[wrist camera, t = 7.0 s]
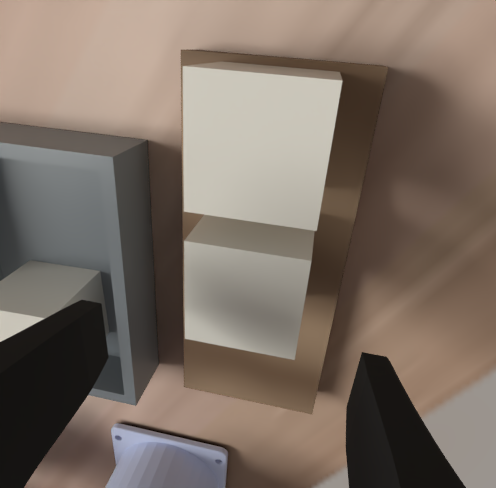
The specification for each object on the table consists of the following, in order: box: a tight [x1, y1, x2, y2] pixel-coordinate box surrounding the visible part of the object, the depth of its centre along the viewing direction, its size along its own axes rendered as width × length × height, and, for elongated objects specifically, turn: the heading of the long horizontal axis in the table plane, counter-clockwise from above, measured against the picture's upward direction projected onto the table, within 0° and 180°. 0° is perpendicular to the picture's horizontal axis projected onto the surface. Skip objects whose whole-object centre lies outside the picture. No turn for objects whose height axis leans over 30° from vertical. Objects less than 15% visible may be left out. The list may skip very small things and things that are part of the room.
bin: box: [0, 122, 159, 405], centre depth 19 cm, size 13×9×3 cm
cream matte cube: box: [0, 260, 109, 342], centre depth 19 cm, size 4×4×4 cm
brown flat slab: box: [181, 50, 388, 414], centre depth 17 cm, size 16×7×2 cm, turn 176°
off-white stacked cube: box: [184, 215, 315, 360], centre depth 14 cm, size 4×4×4 cm
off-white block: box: [183, 61, 343, 231], centre depth 12 cm, size 4×4×4 cm
